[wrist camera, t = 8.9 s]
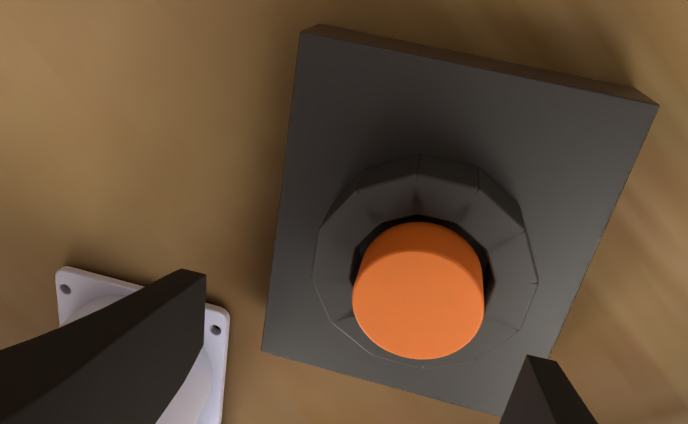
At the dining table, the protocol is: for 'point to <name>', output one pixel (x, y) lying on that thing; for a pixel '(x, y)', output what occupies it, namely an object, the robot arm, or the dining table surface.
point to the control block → (442, 199)
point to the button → (419, 291)
